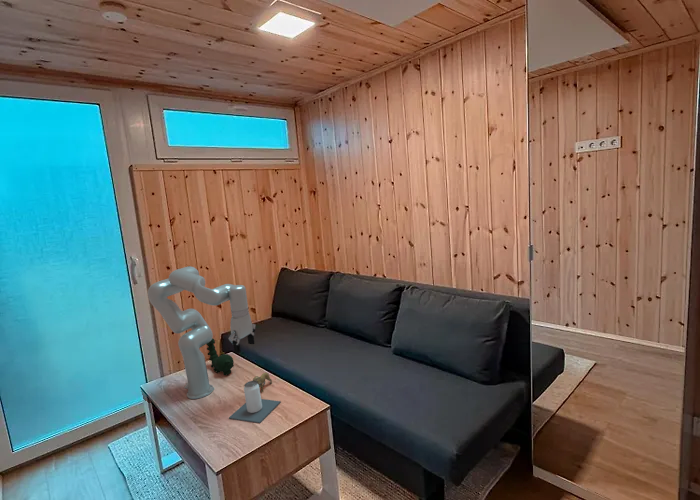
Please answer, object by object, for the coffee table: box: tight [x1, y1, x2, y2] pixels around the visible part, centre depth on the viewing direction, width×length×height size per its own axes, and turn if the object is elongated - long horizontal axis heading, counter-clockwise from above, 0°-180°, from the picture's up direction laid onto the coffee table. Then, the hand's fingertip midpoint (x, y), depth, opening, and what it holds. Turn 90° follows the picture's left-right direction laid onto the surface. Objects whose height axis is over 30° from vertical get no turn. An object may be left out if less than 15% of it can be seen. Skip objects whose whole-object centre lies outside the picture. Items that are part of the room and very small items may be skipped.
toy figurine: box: [206, 337, 235, 376], centre depth 210 cm, size 9×19×25 cm
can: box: [243, 380, 262, 413], centre depth 166 cm, size 6×6×12 cm
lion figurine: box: [251, 372, 273, 394], centre depth 186 cm, size 15×5×9 cm, turn 169°
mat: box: [228, 398, 282, 424], centre depth 167 cm, size 16×16×1 cm
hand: (244, 348), depth 175 cm, fingers open, 9 cm apart
